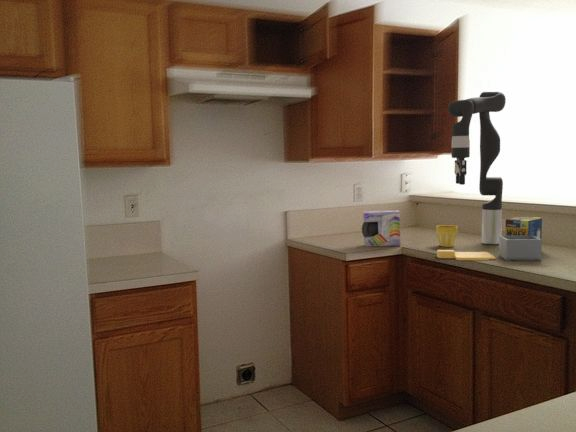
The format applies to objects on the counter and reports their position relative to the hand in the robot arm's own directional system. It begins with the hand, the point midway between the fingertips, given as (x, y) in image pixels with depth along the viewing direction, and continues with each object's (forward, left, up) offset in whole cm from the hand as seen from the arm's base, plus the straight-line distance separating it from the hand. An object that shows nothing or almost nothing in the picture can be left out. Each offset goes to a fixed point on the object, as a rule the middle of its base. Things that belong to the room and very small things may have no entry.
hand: (460, 184), depth 241 cm
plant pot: (-29, -1, -32) cm, 43 cm away
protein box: (-11, +30, -32) cm, 45 cm away
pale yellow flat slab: (+2, +2, -32) cm, 32 cm away
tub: (+5, +24, -32) cm, 40 cm away
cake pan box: (-31, -33, -32) cm, 56 cm away
